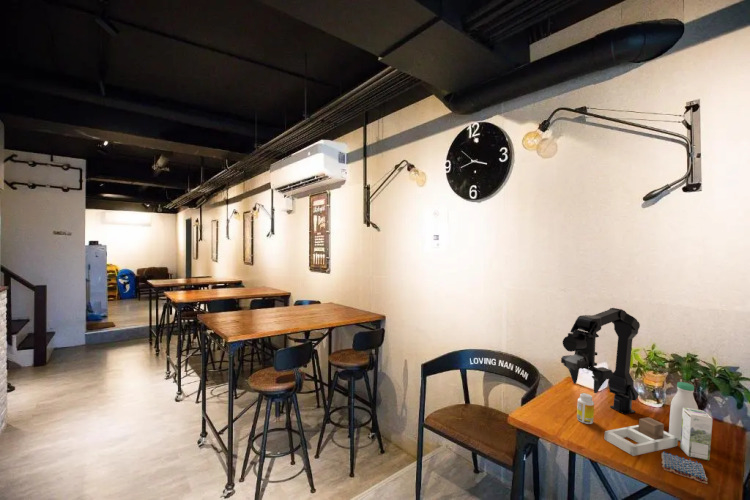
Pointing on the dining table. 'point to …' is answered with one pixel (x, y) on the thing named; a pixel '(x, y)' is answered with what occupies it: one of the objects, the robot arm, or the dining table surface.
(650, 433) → the walnut block
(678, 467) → the woven mat
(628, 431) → the grey divided tray
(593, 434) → the dining table surface
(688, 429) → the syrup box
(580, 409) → the supplement bottle
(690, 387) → the milk bottle
